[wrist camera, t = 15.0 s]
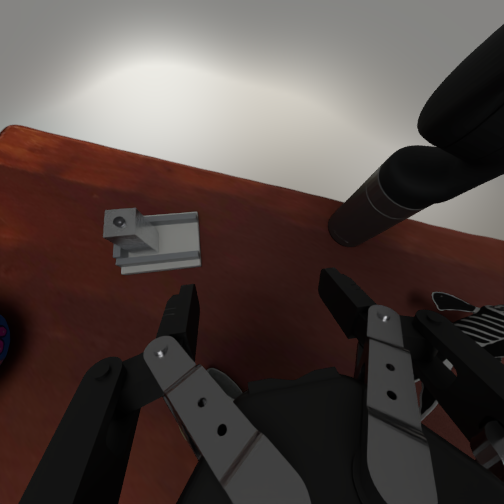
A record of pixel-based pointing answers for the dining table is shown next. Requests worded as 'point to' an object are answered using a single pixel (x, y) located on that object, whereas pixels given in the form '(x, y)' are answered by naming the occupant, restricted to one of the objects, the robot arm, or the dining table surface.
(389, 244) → the dining table surface
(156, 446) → the dining table surface
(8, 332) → the ceramic pot
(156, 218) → the grey open box
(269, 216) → the dining table surface
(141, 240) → the aluminium block
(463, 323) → the decorative fish
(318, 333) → the dining table surface
